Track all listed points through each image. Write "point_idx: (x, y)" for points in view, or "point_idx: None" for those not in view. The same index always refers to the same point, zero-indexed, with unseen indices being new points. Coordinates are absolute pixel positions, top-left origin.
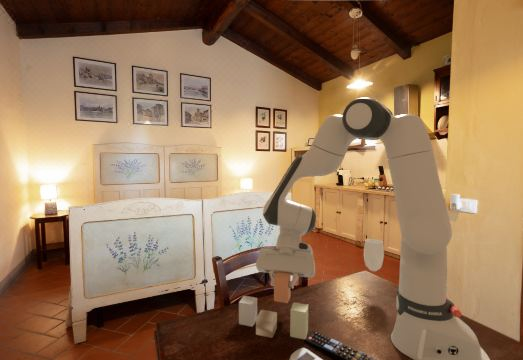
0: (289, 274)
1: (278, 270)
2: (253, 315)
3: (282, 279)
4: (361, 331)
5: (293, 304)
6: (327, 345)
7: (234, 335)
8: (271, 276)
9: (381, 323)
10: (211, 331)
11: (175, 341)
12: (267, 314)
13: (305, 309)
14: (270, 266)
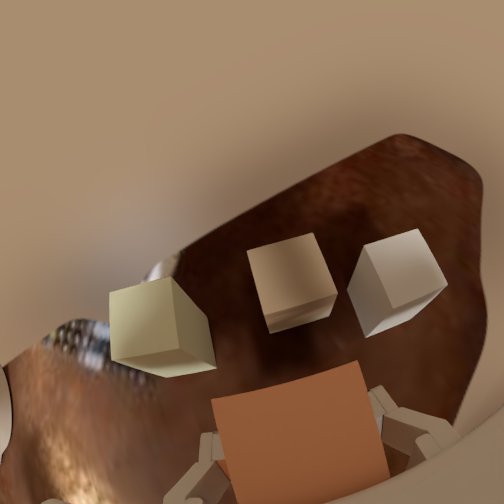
0: (240, 500)
1: (379, 484)
2: (358, 284)
3: (265, 389)
4: (51, 427)
5: (172, 326)
6: (105, 333)
7: (357, 227)
8: (411, 417)
9: (29, 470)
10: (412, 208)
11: (424, 156)
12: (290, 277)
13: (115, 314)
14: (481, 448)
